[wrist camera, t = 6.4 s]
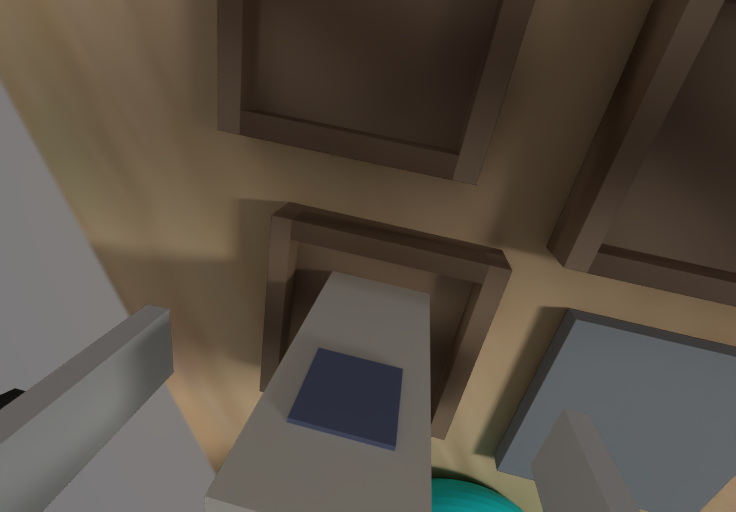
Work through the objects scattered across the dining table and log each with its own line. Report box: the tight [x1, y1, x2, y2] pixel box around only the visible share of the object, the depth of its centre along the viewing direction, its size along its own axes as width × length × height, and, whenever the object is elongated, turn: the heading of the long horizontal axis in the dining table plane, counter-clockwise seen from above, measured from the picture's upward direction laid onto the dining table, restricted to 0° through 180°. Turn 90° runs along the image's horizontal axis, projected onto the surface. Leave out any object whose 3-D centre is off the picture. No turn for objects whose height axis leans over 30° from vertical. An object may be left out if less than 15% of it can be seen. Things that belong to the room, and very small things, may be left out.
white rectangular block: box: [205, 271, 432, 512], centre depth 11 cm, size 4×4×9 cm
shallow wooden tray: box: [218, 0, 535, 185], centre depth 10 cm, size 8×8×2 cm
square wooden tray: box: [260, 202, 512, 440], centre depth 15 cm, size 8×8×2 cm
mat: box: [494, 308, 736, 512], centre depth 15 cm, size 9×9×1 cm
